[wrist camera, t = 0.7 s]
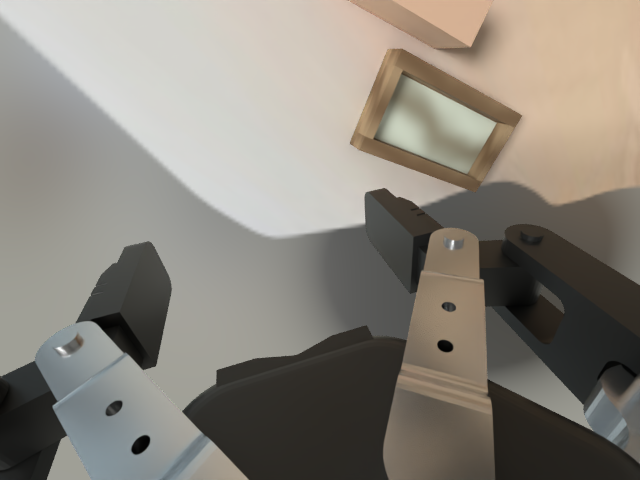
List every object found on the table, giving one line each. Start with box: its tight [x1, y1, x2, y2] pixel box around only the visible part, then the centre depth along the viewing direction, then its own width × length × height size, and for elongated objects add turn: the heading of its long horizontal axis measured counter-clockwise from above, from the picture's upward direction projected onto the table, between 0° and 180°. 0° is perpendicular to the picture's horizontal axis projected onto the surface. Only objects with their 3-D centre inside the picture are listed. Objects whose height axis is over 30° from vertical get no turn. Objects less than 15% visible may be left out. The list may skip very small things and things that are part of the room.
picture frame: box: [350, 49, 522, 192], centre depth 36 cm, size 10×18×3 cm, turn 69°
